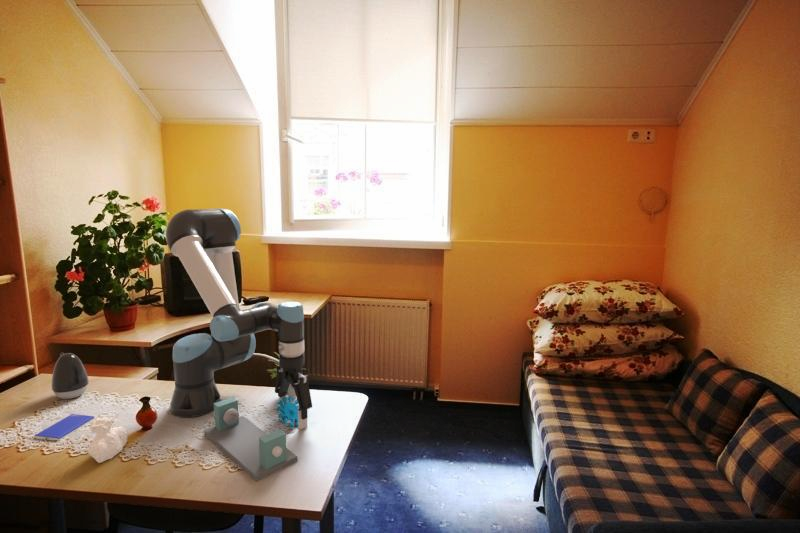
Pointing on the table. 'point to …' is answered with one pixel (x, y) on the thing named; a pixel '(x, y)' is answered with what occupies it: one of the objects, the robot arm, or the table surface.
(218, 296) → the robot arm
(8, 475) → the table surface
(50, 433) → the hard drive
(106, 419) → the white irregular lump
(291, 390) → the house plant
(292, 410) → the gear
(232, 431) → the shaft stand
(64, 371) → the dark grey egg shape
